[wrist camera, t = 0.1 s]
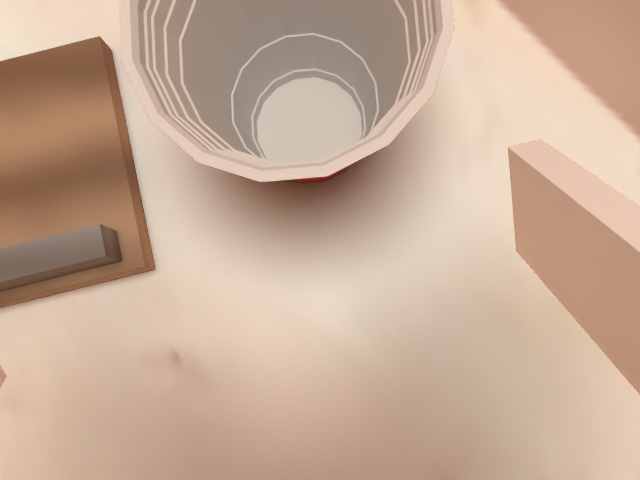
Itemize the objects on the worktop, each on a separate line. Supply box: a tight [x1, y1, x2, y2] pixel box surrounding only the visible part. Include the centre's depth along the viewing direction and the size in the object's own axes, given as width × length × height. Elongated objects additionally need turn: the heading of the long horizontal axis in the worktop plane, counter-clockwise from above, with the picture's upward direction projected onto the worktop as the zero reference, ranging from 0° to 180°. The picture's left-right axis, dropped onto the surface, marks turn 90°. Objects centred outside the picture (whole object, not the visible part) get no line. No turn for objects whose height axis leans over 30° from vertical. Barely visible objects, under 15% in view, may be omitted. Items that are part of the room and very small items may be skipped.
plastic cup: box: [119, 0, 454, 183], centre depth 24 cm, size 11×11×12 cm
